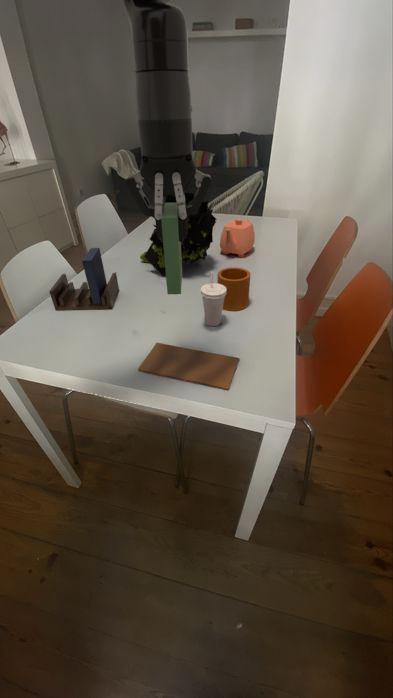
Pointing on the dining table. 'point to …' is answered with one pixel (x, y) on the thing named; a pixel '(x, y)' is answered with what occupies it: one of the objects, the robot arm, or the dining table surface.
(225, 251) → the teapot
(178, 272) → the green book
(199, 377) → the brown wooden board
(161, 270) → the potted plant
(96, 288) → the navy book
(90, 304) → the book rack
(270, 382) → the dining table surface
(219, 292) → the smoothie
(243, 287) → the mug
